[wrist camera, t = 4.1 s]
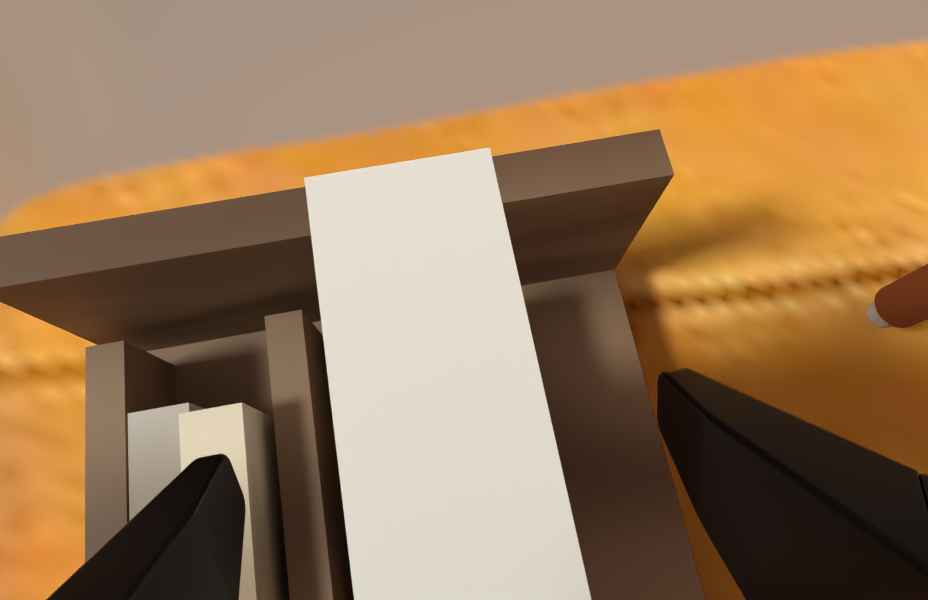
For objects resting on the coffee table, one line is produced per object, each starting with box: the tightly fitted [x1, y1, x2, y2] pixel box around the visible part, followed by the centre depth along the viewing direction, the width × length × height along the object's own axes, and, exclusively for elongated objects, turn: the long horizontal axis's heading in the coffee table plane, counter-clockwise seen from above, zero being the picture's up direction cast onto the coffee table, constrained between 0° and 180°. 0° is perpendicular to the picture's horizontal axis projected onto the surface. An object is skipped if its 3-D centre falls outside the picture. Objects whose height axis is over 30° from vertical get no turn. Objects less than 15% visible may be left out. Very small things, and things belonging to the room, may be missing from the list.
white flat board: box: [304, 148, 591, 600], centre depth 9 cm, size 5×1×12 cm, turn 11°
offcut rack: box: [0, 129, 706, 600], centre depth 13 cm, size 11×13×6 cm
